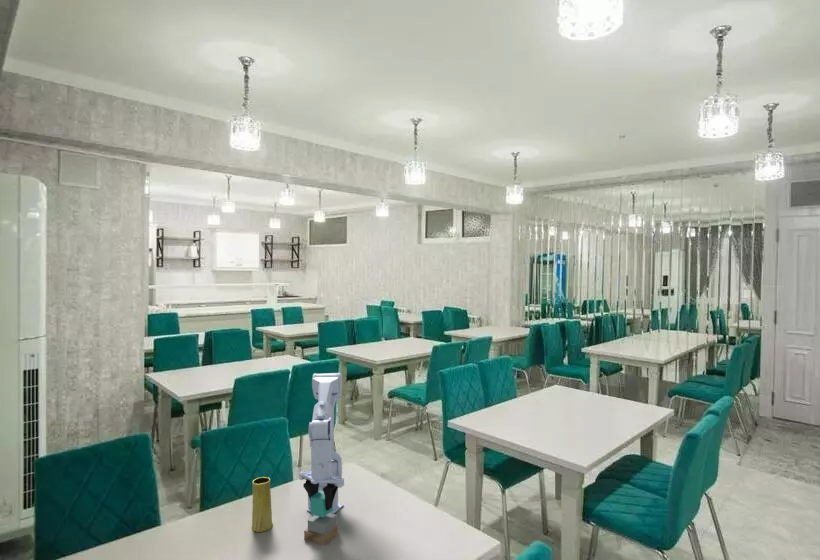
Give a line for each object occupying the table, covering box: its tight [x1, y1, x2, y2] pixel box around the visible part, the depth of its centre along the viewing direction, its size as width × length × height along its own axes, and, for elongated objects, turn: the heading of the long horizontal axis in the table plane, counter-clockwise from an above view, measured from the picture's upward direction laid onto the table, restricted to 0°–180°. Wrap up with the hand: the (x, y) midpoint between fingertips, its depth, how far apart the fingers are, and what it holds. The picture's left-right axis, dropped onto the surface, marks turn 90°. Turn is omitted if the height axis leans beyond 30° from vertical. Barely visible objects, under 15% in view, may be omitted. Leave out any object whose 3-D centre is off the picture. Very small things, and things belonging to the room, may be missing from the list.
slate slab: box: [307, 513, 338, 535], centre depth 136 cm, size 6×6×3 cm
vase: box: [251, 476, 273, 533], centre depth 142 cm, size 6×6×14 cm
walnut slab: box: [303, 523, 339, 546], centre depth 136 cm, size 7×7×3 cm
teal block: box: [310, 491, 333, 517], centre depth 136 cm, size 4×4×5 cm
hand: (321, 507), depth 136 cm, fingers closed on teal block, 4 cm apart
